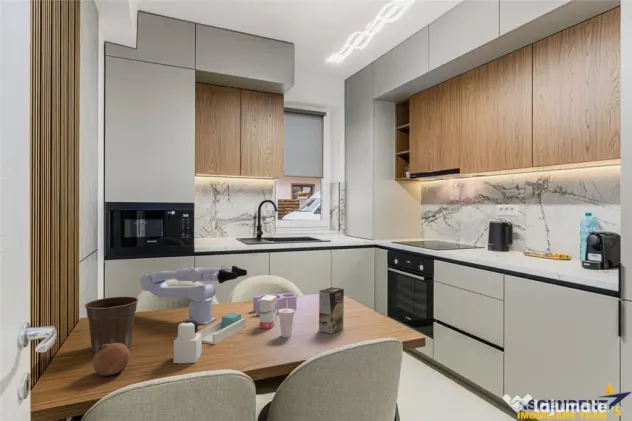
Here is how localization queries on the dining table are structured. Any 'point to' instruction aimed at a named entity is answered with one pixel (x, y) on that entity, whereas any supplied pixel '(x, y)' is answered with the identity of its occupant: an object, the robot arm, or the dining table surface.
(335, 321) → the coffee box
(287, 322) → the smoothie
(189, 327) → the medicine bottle
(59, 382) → the dining table surface
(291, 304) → the purple cup holder
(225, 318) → the block
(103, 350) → the brown rounded lump
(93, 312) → the plant pot
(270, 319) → the ink box
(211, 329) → the chute
